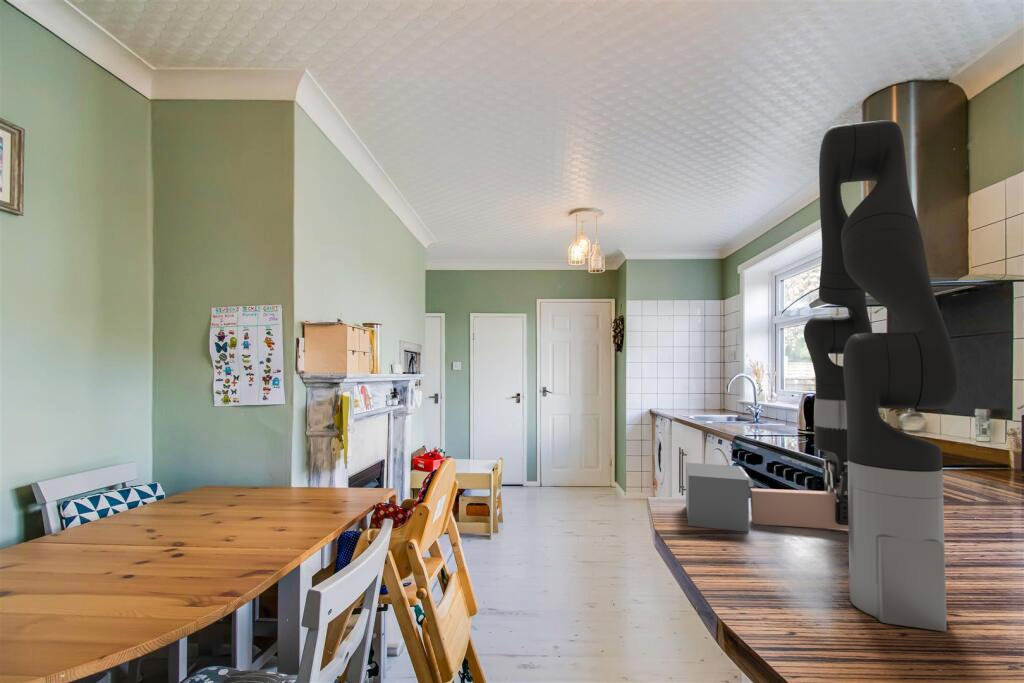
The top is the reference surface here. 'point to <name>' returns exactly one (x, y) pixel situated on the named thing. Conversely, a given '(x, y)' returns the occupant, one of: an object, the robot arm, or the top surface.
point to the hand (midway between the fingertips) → (840, 521)
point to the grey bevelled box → (717, 496)
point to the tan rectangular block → (794, 508)
